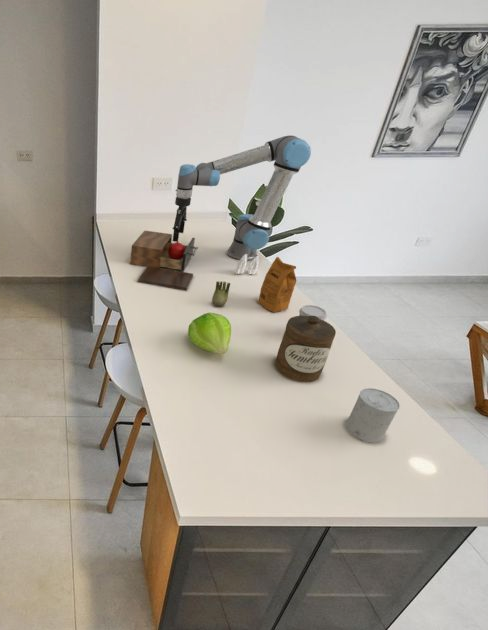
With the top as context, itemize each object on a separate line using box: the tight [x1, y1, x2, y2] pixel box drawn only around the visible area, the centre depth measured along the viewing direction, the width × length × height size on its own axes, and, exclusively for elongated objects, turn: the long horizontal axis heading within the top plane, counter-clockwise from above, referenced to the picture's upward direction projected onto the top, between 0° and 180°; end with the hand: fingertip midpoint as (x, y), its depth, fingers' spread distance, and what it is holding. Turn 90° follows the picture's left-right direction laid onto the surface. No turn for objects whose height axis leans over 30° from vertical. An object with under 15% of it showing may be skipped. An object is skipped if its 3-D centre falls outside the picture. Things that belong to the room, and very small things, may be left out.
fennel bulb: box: [211, 280, 231, 308], centre depth 187 cm, size 6×5×12 cm
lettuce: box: [187, 312, 232, 356], centre depth 159 cm, size 15×20×14 cm
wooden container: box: [274, 315, 336, 383], centre depth 145 cm, size 15×15×22 cm
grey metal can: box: [345, 387, 401, 444], centre depth 122 cm, size 10×10×12 cm
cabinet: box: [130, 230, 173, 268], centre depth 233 cm, size 16×25×11 cm, turn 155°
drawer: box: [160, 237, 199, 272], centre depth 228 cm, size 20×25×10 cm
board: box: [137, 266, 194, 292], centre depth 213 cm, size 24×17×2 cm
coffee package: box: [257, 256, 297, 313], centre depth 183 cm, size 10×12×22 cm
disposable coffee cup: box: [298, 304, 328, 321], centre depth 165 cm, size 10×10×12 cm
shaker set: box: [235, 254, 260, 276], centre depth 214 cm, size 12×4×11 cm, turn 97°
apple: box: [168, 241, 185, 260], centre depth 228 cm, size 9×9×10 cm
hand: (178, 236), depth 224 cm, fingers open, 13 cm apart
